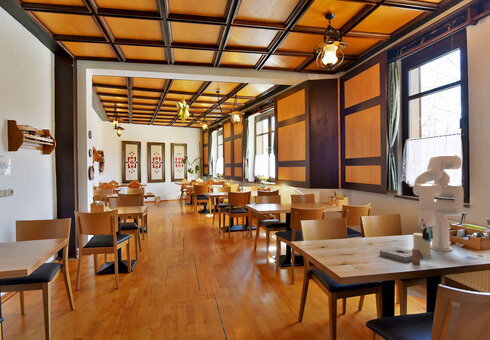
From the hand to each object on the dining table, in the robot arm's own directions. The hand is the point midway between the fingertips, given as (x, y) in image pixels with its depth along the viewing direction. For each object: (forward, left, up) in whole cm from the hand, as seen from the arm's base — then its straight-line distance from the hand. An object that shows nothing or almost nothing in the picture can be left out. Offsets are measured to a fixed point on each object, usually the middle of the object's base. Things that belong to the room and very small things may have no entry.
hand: (427, 238), depth 163 cm
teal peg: (0, 0, -1) cm, 1 cm away
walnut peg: (+13, 0, -12) cm, 18 cm away
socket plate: (+7, -12, -12) cm, 18 cm away
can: (-11, -9, -12) cm, 19 cm away
